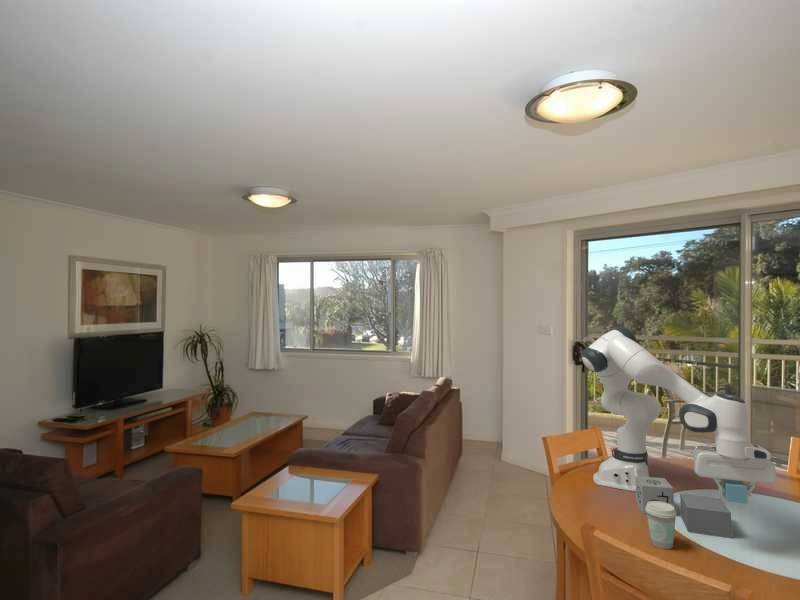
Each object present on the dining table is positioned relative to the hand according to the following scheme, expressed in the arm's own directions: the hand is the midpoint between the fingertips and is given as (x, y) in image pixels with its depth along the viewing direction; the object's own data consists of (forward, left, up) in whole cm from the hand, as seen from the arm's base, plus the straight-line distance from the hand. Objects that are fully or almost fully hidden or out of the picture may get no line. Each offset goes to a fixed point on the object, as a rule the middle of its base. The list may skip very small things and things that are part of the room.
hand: (734, 494), depth 135 cm
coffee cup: (-20, -4, -17) cm, 27 cm away
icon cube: (-19, +23, -17) cm, 35 cm away
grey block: (-5, +14, -17) cm, 22 cm away
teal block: (0, 0, -2) cm, 2 cm away
